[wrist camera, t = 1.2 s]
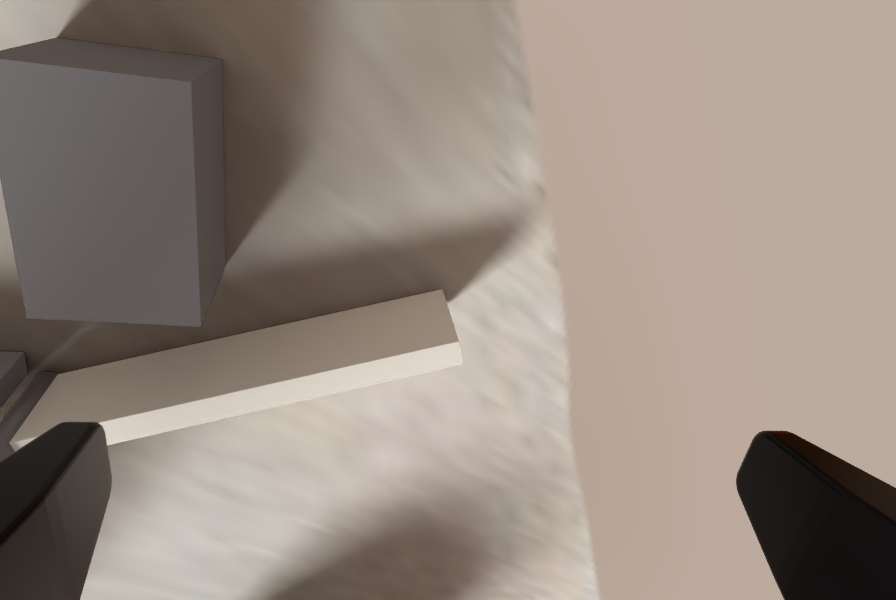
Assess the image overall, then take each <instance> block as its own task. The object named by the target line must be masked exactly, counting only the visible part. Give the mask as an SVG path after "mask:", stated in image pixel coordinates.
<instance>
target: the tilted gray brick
mask: <svg viewBox="0 0 896 600" xmlns="http://www.w3.org/2000/svg"><path fill="white" fill-rule="evenodd" d="M0 179H1V184H2V190H3V195H4V200H5V206H6V211H7V217H8V222H9V227H10V233H11V238H12V244H13V249H14V254H15V260H16V265H17V271H18V276H19V281H20V287H21V292H22V298H23V303H24V308H25V314H26V319H46V320H67V321H88V322H108V323H129V324H149V325H170V326H191V327H201V326H202V323H203V321H204V318H205V316H206V313H207V311H208V308H209V306H210V303H211V301H212V298H213V296H214V293H215V291H216V288H217V286H218V283H219V281H220V278H221V276H222V273H223V271H224V268H225V266H226V224H225V168H224V113H223V59H218V58H210V57H202V56H195V55H187V54H179V53H172V52H164V51H156V50H148V49H141V48H133V47H125V46H117V45H110V44H102V43H94V42H86V41H79V40H71V39H63V38H53V39H49V40H45V41H40V42H36V43H32V44H27V45H23V46H19V47H15V48H10V49H6V50H2V51H0Z"/></svg>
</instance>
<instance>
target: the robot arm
mask: <svg viewBox="0 0 896 600" xmlns="http://www.w3.org/2000/svg"><path fill="white" fill-rule="evenodd" d="M111 484H112V476H111V469H110V462H109V455H108V448H107V441H106V435H105V431H104V429H103V427H102V425H100V424H99V423H97V422H62V423H59V424H57V425H56V426H54V427H52V428H51V429H49V430H48V431H46V432H45V433H43V434H41V435H40V436H38V437H37V438H35V439H34V440H32V441H31V442H29V443H28V444H26V445H24V446H23V447H21V448H20V449H18V450H17V451H15V452H14V453H12V454H11V455H9V456H7V457H6V458H4V459H3V460H1V461H0V600H80V597H81V594H82V591H83V587H84V584H85V580H86V577H87V573H88V570H89V566H90V563H91V559H92V556H93V552H94V549H95V546H96V542H97V539H98V535H99V532H100V528H101V525H102V521H103V518H104V514H105V511H106V508H107V504H108V501H109V497H110V492H111ZM736 485H737V491H738V494H739V496H740V498H741V501H742V503H743V505H744V508H745V510H746V512H747V515H748V517H749V520H750V522H751V524H752V527H753V529H754V531H755V533H756V536H757V538H758V540H759V543H760V545H761V548H762V550H763V552H764V555H765V557H766V559H767V562H768V564H769V566H770V569H771V571H772V573H773V576H774V578H775V580H776V582H777V585H778V587H779V589H780V591H781V594H782V596H783V598H784V599H785V600H896V488H895V487H893V486H891V485H889V484H887V483H885V482H883V481H881V480H879V479H878V478H876V477H874V476H872V475H870V474H868V473H866V472H865V471H863V470H861V469H859V468H857V467H855V466H853V465H851V464H849V463H848V462H845V461H844V460H842V459H840V458H838V457H836V456H835V455H833V454H831V453H829V452H827V451H825V450H823V449H821V448H819V447H818V446H816V445H814V444H812V443H810V442H808V441H806V440H805V439H802V438H801V437H799V436H797V435H795V434H793V433H791V432H787V431H762V432H759V433H758V434H757V435H756V436H755V437H754V438H753V440H752V442H751V445H750V447H749V449H748V451H747V453H746V455H745V458H744V460H743V462H742V465H741V467H740V469H739V471H738V473H737V478H736Z"/></svg>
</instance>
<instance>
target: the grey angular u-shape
mask: <svg viewBox="0 0 896 600" xmlns="http://www.w3.org/2000/svg"><path fill="white" fill-rule="evenodd" d="M27 374H28V371H27V366H26V361H25V355H24V352H10V351H0V408H1V407H2V406H3V404H4V403H5V402H6V401H7V399H8V398H9V397H10V395H11V394H12V393H13V392H14V390H15V389H16V388H17V387H18V385H19V384H20V383H21V381H22V380H23V379H24V378H25V376H26V375H27Z"/></svg>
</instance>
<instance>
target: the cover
mask: <svg viewBox="0 0 896 600" xmlns="http://www.w3.org/2000/svg"><path fill="white" fill-rule="evenodd" d="M462 364H463V360H462V355H461V350H460V344H459V340H458V337H457V334H456V331H455V327H454V324H453V321H452V318H451V315H450V312H449V308H448V305H447V302H446V299H445V296H444V292H443V289H441V290H436V291H432V292H427V293H423V294H418V295H414V296H409V297H404V298H400V299H395V300H391V301H386V302H382V303H377V304H373V305H368V306H364V307H359V308H355V309H350V310H346V311H341V312H337V313H332V314H328V315H323V316H319V317H314V318H310V319H305V320H301V321H296V322H292V323H287V324H283V325H278V326H274V327H269V328H264V329H260V330H255V331H251V332H246V333H242V334H237V335H233V336H228V337H224V338H219V339H215V340H210V341H206V342H201V343H197V344H192V345H188V346H183V347H179V348H174V349H170V350H165V351H161V352H156V353H152V354H147V355H143V356H138V357H134V358H129V359H124V360H120V361H115V362H111V363H106V364H102V365H97V366H93V367H88V368H84V369H79V370H75V371H70V372H66V373H61V374H58V373H55V372H51V371H44V372H40V373H38V374H37V375H36V376H35V377H34V378H33V380H32V381H31V382H30V384H29V385H28V386H27V388H26V389H25V390H24V392H23V393H22V394H21V396H20V397H19V398H18V399H17V401H16V402H15V403H14V405H13V406H12V407H11V409H10V410H9V411H8V413H7V414H6V415H5V417H4V418H3V419H2V421H1V422H0V461H1V460H3V459H4V458H6V457H7V456H9V455H11V454H12V453H14V452H15V451H17V450H18V449H20V448H21V447H23V446H24V445H26V444H28V443H29V442H31V441H32V440H34V439H35V438H37V437H38V436H40V435H41V434H43V433H45V432H46V431H48V430H49V429H51V428H52V427H54V426H56V425H57V424H59V423H62V422H97V423H99V424H100V425H102V427H103V429H104V431H105V435H106V441H107V445H112V444H116V443H120V442H125V441H129V440H133V439H138V438H142V437H147V436H151V435H155V434H160V433H164V432H169V431H173V430H177V429H182V428H186V427H190V426H195V425H199V424H204V423H208V422H212V421H217V420H221V419H226V418H230V417H234V416H239V415H243V414H247V413H252V412H256V411H261V410H265V409H269V408H274V407H278V406H282V405H287V404H291V403H296V402H300V401H304V400H309V399H313V398H318V397H322V396H326V395H331V394H335V393H339V392H344V391H348V390H353V389H357V388H361V387H366V386H370V385H375V384H379V383H383V382H388V381H392V380H396V379H401V378H405V377H410V376H414V375H418V374H423V373H427V372H431V371H436V370H440V369H445V368H449V367H453V366H458V365H462Z"/></svg>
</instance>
